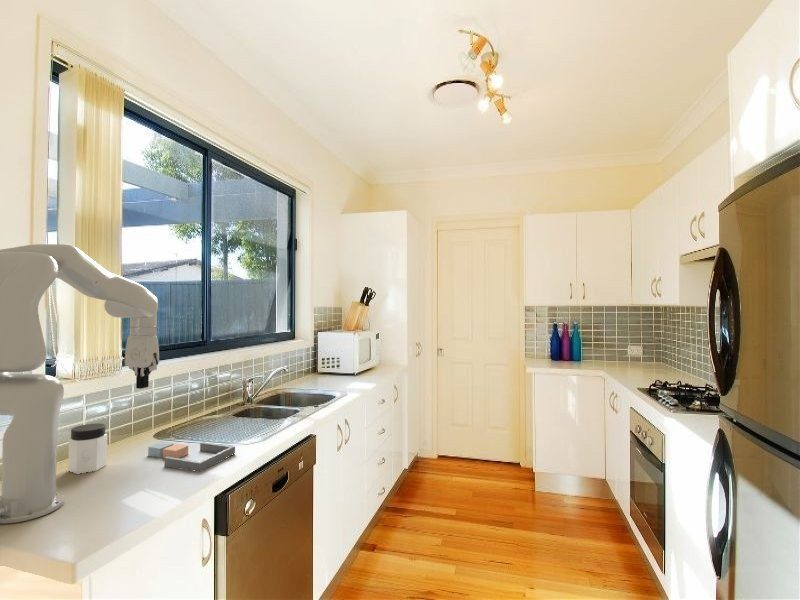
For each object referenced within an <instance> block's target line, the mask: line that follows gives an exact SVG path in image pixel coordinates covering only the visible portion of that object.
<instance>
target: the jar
mask: <svg viewBox="0 0 800 600" xmlns="http://www.w3.org/2000/svg"><path fill="white" fill-rule="evenodd" d="M107 459H108V434H107V433H106V424H105V423H98V422H97V423H87V424H81V425H77V426H75V427H72V429H70V438H68V464H67V467H68V468H67V470H68V472H69V471H70V472H71V473H72V472H73V473H72V474H75V475H81V474H80V473H82V474H87V473H86V472H88V473H93V472H97V471H98V470H101V469H102V468H104V467H106V466H107V465H108V462H107V461H108V460H107ZM92 471H93V472H92Z"/></svg>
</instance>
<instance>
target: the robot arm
mask: <svg viewBox="0 0 800 600" xmlns="http://www.w3.org/2000/svg"><path fill="white" fill-rule="evenodd" d="M56 279H59V280H61V281H62V282H64V283H65V284H67V285H69V286H71V288H74V289H75V290H76V291H78V292H80V293H81V294H82V295H84V296H85V297H89V298H93V299H97V300H101V301H105V302H104V305H103V307H104V310H105V312H106V313H107V314H108V315H109V316H111V317H113V318H120V319H121V318H123V319H129V335H128V337H127V340H126V344H125V353H124V355H125V356H124V365H125V366H126V367H128V369H129V370H132V371H133V372H134V375H135V377H136V378H135V379H136V380H135V381H136V382H135V383H136V384H135V386H136V387H135V389H139V390H141V389H147V388H149V384H150V383H149V377H150V375H151V373H152V372H153V371H157V369H158V367H157V366H158V365H159V364H160V363H159V362H160V346H159V339H158V336H157V325H158V323H157V321H158V320H157V319H158V317H157V316H158V310H159V302H158V298H157V296H155V295H154V294H153V293H152V292H151V291H150V290H149V289H147V288H146V287H145V286H143V285H142V284H140V283H138V282H135V281H133V280H131V279H128V278H125V277H123V276H120V275H117V274H115V273H112V272H109V271H108V270H107V269H105V268H104V267H103V266H101V265H100V264H99V263H97V262H96V261H94V259H92V257H90V256H88V255H87V254H86V253H85V252H83V251H82V250H80V249H79V248H78V247H76V246H73V245H68V244H60V243H59V244H55V243H54V244H49V243H48V244H45V243H44V244H43V243H42V244H41V243H40V244H39V243H38V244H37V243H35V244H28V245H27V244H26V245H22V246H21V245H20V246H15V247H14V246H13V247H9V248H3V249H0V416H12V420H11V422H9V424H8V426H7V428H5V431H4V433H3V437H2V442H1V445H2V454H1V455H2V457H1V461H2V462H1V489H0V490H1V495H0V524H13V523H14V524H17V523H20V522H21V523H22V522H26V521H30V520H34V519H36V518H41V517H43V516H46V515H48V514H50V513H53V512H55V511H56V510H57V509H59V508H60V507H62V506H63V504H64V503H65V496H64V495H63V494H61V493H58V492H57V458H58V457H57V456H58V455H57V454H58V424H59V417H60V412H61V411H60V410H61V407H62V403H63V399H64V394H65V393H64V392H65V390H64V385H63V384H62V382H61V381H60V380H59V379H58V378H56V377H55V376H52V375H50V374H49V375H48V374H42V373H27V372H31V371H34V370H37V369H39V368H41V367H42V366H43V364H45V362H46V361H47V360H46V358H47V348H46V343H45V342H46V341H45V339H44V334H43V330H42V325H41V321H40V315H39V305H40V301H41V300H42V297H43V295H44V294H45V293H46V291H47V290H48V289H49V288H50V287H51V286H52V284H53V283H54V282H55V280H56ZM23 372H26V373H23Z"/></svg>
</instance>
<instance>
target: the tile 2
mask: <svg viewBox="0 0 800 600" xmlns="http://www.w3.org/2000/svg"><path fill="white" fill-rule="evenodd" d="M187 454H188V455H189V445H185V444H179V443H175V444H174V445H172V446H170V447H167V448H165V449H163V457H162V458H163V459H165V457H173V458H180V457H181V458H183V457H185V456H184V455H186V456H187ZM182 456H183V457H182ZM181 458H180V459H181Z"/></svg>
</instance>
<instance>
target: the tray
mask: <svg viewBox="0 0 800 600" xmlns="http://www.w3.org/2000/svg"><path fill="white" fill-rule="evenodd" d="M199 447H200V448H199V451H200V450H202V451H201V452H207V451H208V452H207V453H214V452H217V453H214V454H213V455H210V456H209V457H207V458H204V459H203V460H200V461H199V460H192V459H185V458H173V457H165V458H164V464H163V465H164V467H167V466H169V468H173V467H175V468H174V469H179V468H182V469H181V470H185V469H187V470H186V471H191V470H195V471H194V472H197V471H201V470H203V469H205V468H207V467H209V466H211V465H213V464H215V463H217V462H219V461H221V460H223V459H225V458H226V457H228V456H230V455H232V454H234V453H235V454H236V446H233V445H227V444H218V443H213V442H206V441H202V442H200V443H199ZM235 454H234V455H235ZM225 460H226V459H225ZM223 461H224V460H223ZM221 462H222V461H221ZM219 463H220V462H219ZM217 464H218V463H217ZM215 465H216V464H215ZM213 466H214V465H213ZM211 467H212V466H211ZM209 468H210V467H209ZM207 469H208V468H207ZM205 470H206V469H205ZM203 471H204V470H203ZM201 472H202V471H201Z"/></svg>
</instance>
